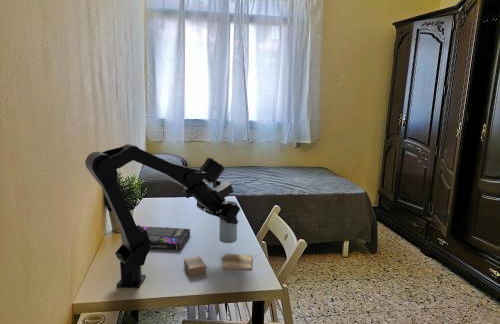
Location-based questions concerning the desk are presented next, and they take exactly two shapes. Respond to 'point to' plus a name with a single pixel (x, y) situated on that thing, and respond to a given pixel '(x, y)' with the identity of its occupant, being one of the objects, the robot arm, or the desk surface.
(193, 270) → the walnut block
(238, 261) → the coaster
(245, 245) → the desk surface
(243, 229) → the desk surface
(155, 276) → the desk surface
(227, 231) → the tumbler
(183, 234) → the box
